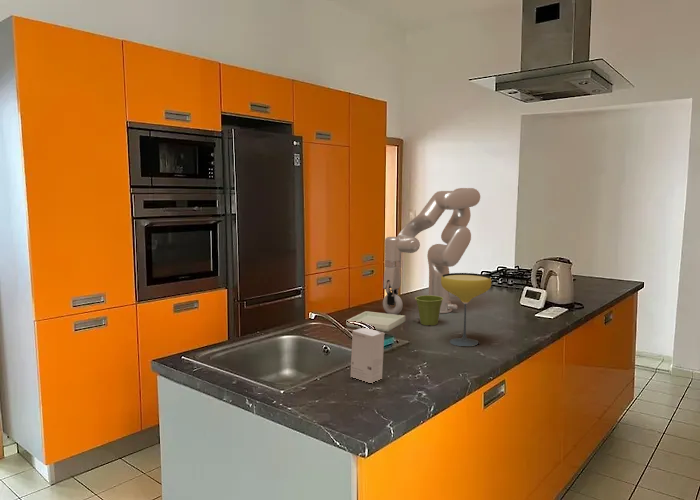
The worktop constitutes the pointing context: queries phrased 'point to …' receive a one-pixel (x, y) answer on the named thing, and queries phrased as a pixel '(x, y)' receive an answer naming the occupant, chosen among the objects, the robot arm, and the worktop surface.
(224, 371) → the worktop surface
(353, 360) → the skincare box
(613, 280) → the worktop surface
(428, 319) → the plant pot
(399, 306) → the donut
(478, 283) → the cocktail glass
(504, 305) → the worktop surface
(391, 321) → the tray
